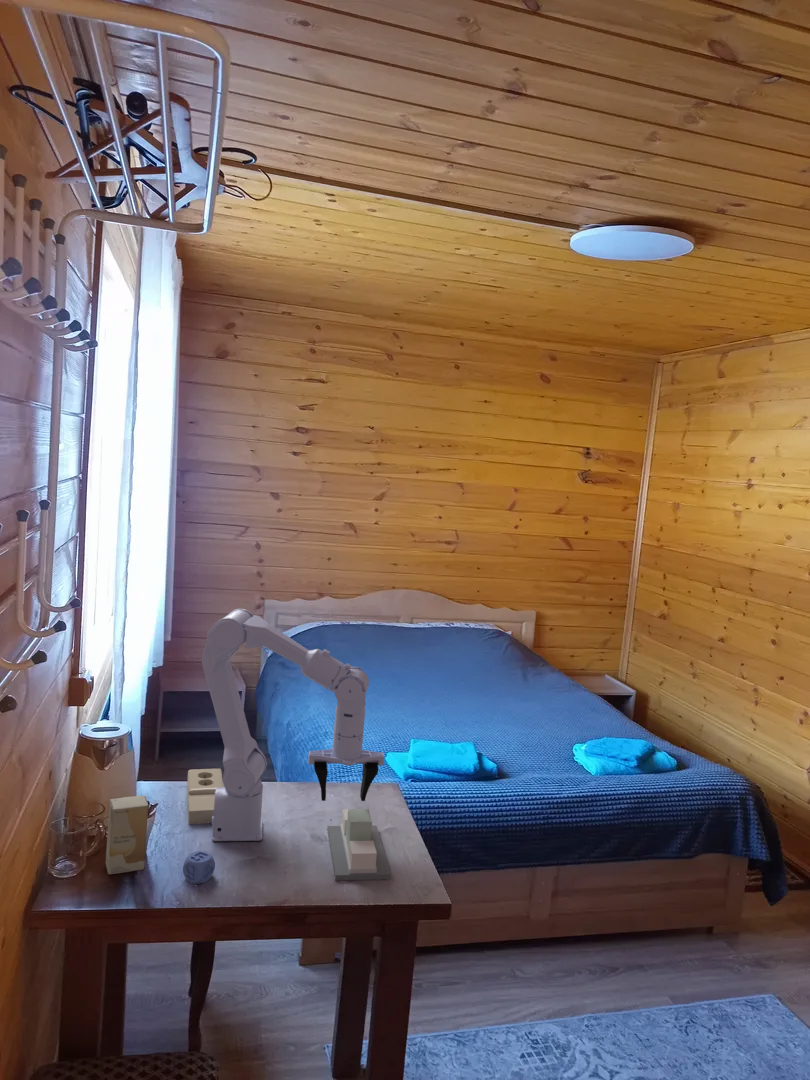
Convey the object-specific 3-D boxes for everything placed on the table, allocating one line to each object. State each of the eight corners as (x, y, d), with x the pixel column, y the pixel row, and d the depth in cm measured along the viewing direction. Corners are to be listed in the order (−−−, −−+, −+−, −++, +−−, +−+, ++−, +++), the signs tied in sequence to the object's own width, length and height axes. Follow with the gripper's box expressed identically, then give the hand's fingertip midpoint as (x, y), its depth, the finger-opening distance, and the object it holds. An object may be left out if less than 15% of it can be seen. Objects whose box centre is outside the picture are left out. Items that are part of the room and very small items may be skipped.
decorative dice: (214, 875, 139) (216, 854, 139) (200, 886, 136) (201, 865, 135) (196, 869, 141) (197, 848, 141) (181, 879, 137) (183, 858, 137)
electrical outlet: (189, 806, 156) (188, 768, 173) (188, 826, 157) (187, 786, 174) (226, 804, 158) (221, 767, 175) (225, 823, 159) (220, 785, 176)
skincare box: (108, 876, 137) (110, 809, 135) (105, 863, 140) (107, 798, 139) (146, 869, 140) (149, 804, 138) (142, 857, 143) (145, 793, 142)
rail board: (335, 880, 141) (337, 855, 140) (327, 830, 159) (329, 808, 158) (389, 879, 143) (392, 854, 142) (376, 830, 160) (377, 807, 160)
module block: (348, 851, 148) (350, 821, 147) (345, 838, 153) (348, 809, 152) (369, 851, 148) (371, 821, 148) (366, 838, 153) (368, 809, 152)
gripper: (311, 739, 146) (306, 808, 148) (388, 740, 148) (382, 808, 150) (310, 725, 153) (305, 791, 154) (383, 726, 155) (377, 791, 157)
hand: (343, 798), depth 153 cm, fingers open, 7 cm apart
